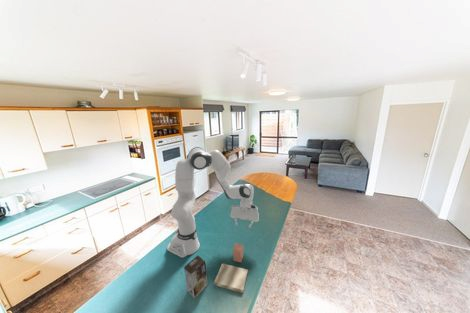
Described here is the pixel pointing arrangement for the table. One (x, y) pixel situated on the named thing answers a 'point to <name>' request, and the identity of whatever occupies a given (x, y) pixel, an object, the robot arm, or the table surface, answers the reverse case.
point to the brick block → (238, 252)
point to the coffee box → (196, 276)
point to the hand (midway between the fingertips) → (242, 226)
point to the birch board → (231, 277)
